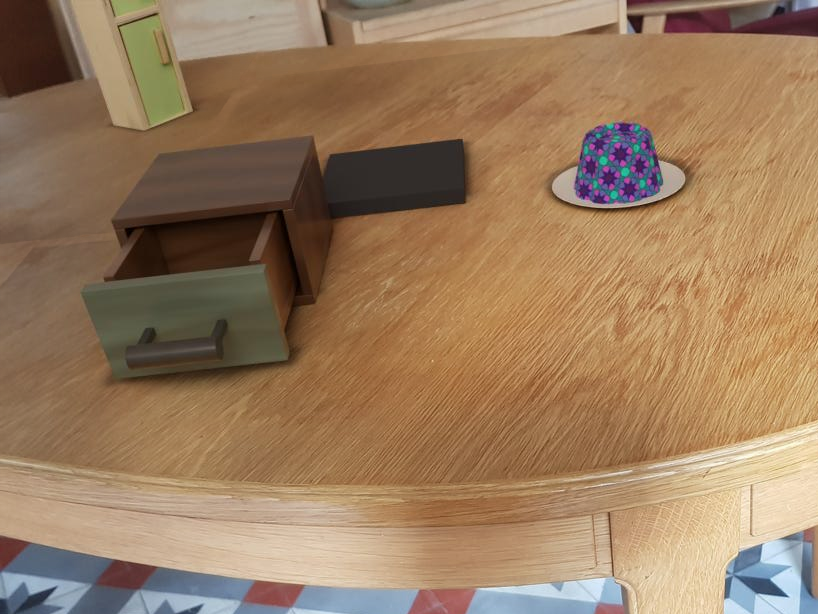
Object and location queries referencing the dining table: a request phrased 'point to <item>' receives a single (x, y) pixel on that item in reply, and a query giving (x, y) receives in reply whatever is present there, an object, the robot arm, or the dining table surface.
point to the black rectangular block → (395, 178)
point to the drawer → (196, 296)
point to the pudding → (618, 170)
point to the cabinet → (240, 196)
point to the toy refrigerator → (133, 60)
